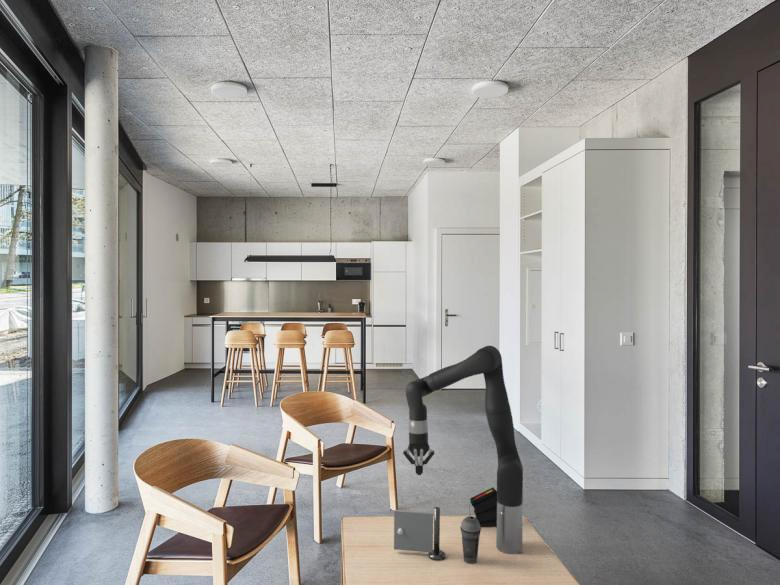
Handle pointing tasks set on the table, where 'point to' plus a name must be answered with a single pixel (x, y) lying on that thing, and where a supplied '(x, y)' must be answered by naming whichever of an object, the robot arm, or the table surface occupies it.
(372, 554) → the table surface
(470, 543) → the beverage cup
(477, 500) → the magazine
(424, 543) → the door
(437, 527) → the hinge post
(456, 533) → the table surface
